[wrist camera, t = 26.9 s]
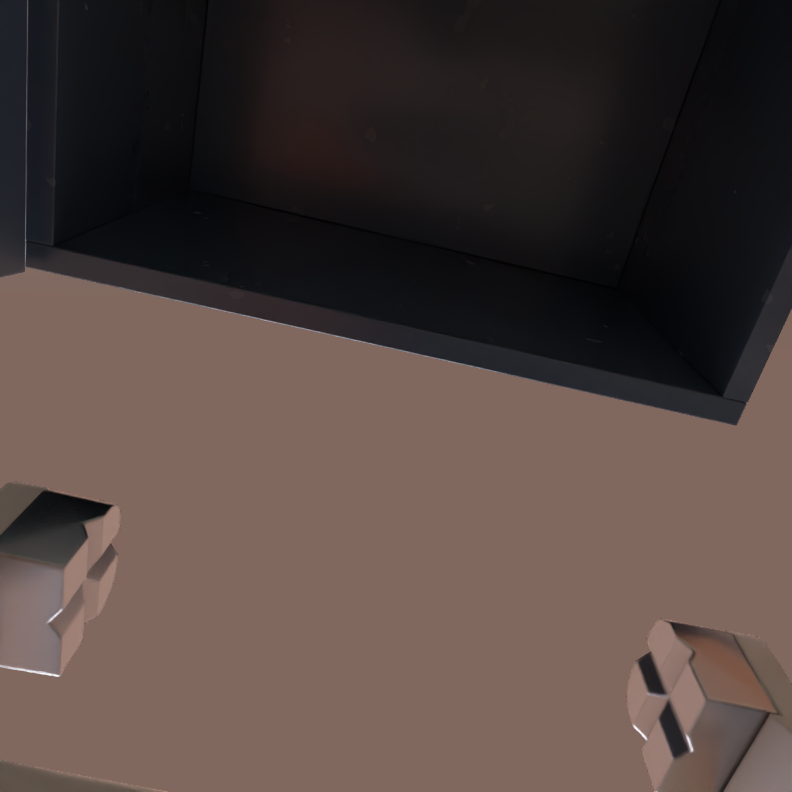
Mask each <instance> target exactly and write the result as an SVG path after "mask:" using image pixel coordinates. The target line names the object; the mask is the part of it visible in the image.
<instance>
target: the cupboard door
mask: <svg viewBox="0 0 792 792" xmlns="http://www.w3.org/2000/svg"><path fill="white" fill-rule="evenodd" d="M26 104H27V0H0V277H4V276H9V275H13V274H18V273H22V272H24V271H25V213H26Z"/></svg>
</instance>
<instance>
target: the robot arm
mask: <svg viewBox="0 0 792 792" xmlns="http://www.w3.org/2000/svg"><path fill="white" fill-rule="evenodd" d="M120 514H121V510H120V508H119V506H118V505H117V504H114V503H110V502H106V501H102V500H97V499H93V498H89V497H84V496H80V495H75V494H71V493H67V492H62V491H58V490H54V489H47V488H45V487H40V486H36V485H31V484H26V483H22V482H17V481H15V482H11V483H7V484H6V485H5V486H3V487H2V488H1V489H0V667H3V668H9V669H15V670H21V671H27V672H33V673H39V674H45V675H51V676H57V677H60V675H61V674H62V672H63V670H64V669H65V668H66V666H67V664H68V663H69V661H70V660H71V658H72V657H73V655H74V653H75V652H76V650H77V649H78V647H79V646H80V644H81V642H82V640H83V625H84V624H86V623H88V622H90V621H92V620H94V619H96V618H97V617H98V615H99V613H100V612H101V610H102V608H103V607H104V605H105V603H106V601H107V598H108V596H109V593H110V591H111V588H112V585H113V582H114V578H115V573H116V568H117V558H118V554H117V552H116V551H115V549H114V548H113V546H112V544H111V541H112V540H113V538H114V537H115V536H116V534H117V533H118V531H119V529H120ZM647 641H648V644H649V647H650V650H651V652H650V653H648V654H646V655H645V656H643V657H641V658H640V659H638V660H636V662H635V664H634V667H633V669H632V671H631V674H630V676H629V679H628V687H627V696H626V697H627V706H628V712H629V716H630V719H631V722H632V725H633V727H634V728H635V729H636V730H637V731H638V732H639V733H640V734H641V735H642V736H643V737H644V738H645V739H646V740H647V741H646V743H645V745H644V747H643V749H642V751H641V753H642V756H643V759H644V762H645V765H646V768H647V771H648V774H649V777H650V779H651V783H652V786H653V788H654V791H655V792H792V683H791V682H790V680H789V678H788V677H787V675H786V674H785V672H784V670H783V669H782V667H781V666H780V664H779V662H778V661H777V659H776V658H775V656H774V654H773V653H772V651H771V650H770V648H769V647H768V645H767V643H766V642H764V641H763V640H762V639H760V638H759V637H758V636H753V635H747V634H742V633H736V632H731V631H720V630H715V629H709V628H705V627H700V626H695V625H689V624H685V623H680V622H675V621H670V620H665V619H659V620H658V621H657V622H656V623H655V624H654V625H653V627H652V629H651V631H650V633H649V635H648V637H647ZM0 792H168V791H163V790H158V789H152V788H147V787H142V786H136V785H131V784H125V783H120V782H115V781H110V780H105V779H99V778H94V777H89V776H83V775H78V774H72V773H67V772H62V771H57V770H51V769H46V768H41V767H35V766H30V765H25V764H19V763H14V762H8V761H3V760H0Z"/></svg>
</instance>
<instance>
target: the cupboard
mask: <svg viewBox="0 0 792 792" xmlns="http://www.w3.org/2000/svg"><path fill="white" fill-rule="evenodd" d="M25 239H26V242H25V266H26V267H29V268H33V269H37V270H42V271H46V272H51V273H55V274H60V275H64V276H69V277H73V278H78V279H82V280H87V281H91V282H96V283H100V284H105V285H109V286H114V287H118V288H123V289H127V290H131V291H136V292H140V293H145V294H149V295H154V296H158V297H163V298H168V299H172V300H176V301H181V302H185V303H190V304H194V305H199V306H203V307H208V308H212V309H217V310H221V311H225V312H230V313H235V314H239V315H244V316H248V317H252V318H257V319H261V320H266V321H271V322H275V323H279V324H284V325H288V326H293V327H297V328H301V329H306V330H310V331H315V332H320V333H324V334H328V335H333V336H337V337H342V338H346V339H351V340H355V341H360V342H364V343H369V344H374V345H378V346H382V347H386V348H391V349H395V350H400V351H405V352H409V353H413V354H418V355H423V356H427V357H431V358H436V359H440V360H445V361H449V362H454V363H458V364H463V365H467V366H472V367H477V368H480V369H485V370H490V371H494V372H498V373H503V374H507V375H512V376H516V377H521V378H526V379H530V380H534V381H539V382H543V383H548V384H552V385H557V386H561V387H566V388H570V389H574V390H579V391H583V392H588V393H592V394H597V395H601V396H606V397H610V398H615V399H619V400H624V401H628V402H633V403H637V404H641V405H646V406H650V407H655V408H659V409H664V410H669V411H673V412H678V413H682V414H686V415H691V416H695V417H700V418H705V419H709V420H713V421H718V422H722V423H727V424H731V425H737V423H738V421H739V419H740V417H741V415H742V412H743V410H744V408H745V406H746V402H748V400H749V398H750V396H751V394H752V392H753V390H754V387H755V385H756V383H757V381H758V379H759V377H760V374H761V373H762V371H763V368H764V366H765V364H766V362H767V360H768V358H769V356H770V353H771V351H772V349H773V347H774V345H775V343H776V341H777V339H778V337H779V334H780V332H781V330H782V328H783V326H784V324H785V322H786V319H787V317H788V315H789V313H790V311H791V309H792V0H27V106H26V215H25Z"/></svg>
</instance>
